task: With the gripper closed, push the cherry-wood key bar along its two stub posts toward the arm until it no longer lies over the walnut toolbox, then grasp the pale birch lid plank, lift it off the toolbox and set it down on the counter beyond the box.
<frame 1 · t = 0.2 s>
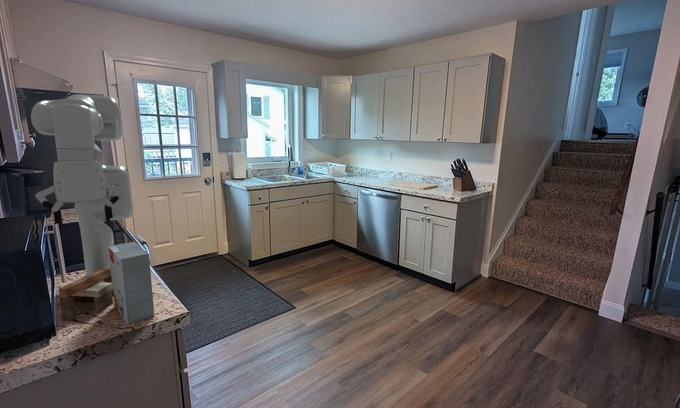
hand: (85, 223, 85), 31 cm above the worktop, tool pointing down, fingers open, 9 cm apart
key bar: (88, 280, 104), point 9 cm above the worktop, slide at 0.0 cm
lid: (89, 291, 104), point 5 cm above the worktop, touching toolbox
hard drive box: (134, 311, 103), on the worktop
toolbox: (91, 306, 105), on the worktop
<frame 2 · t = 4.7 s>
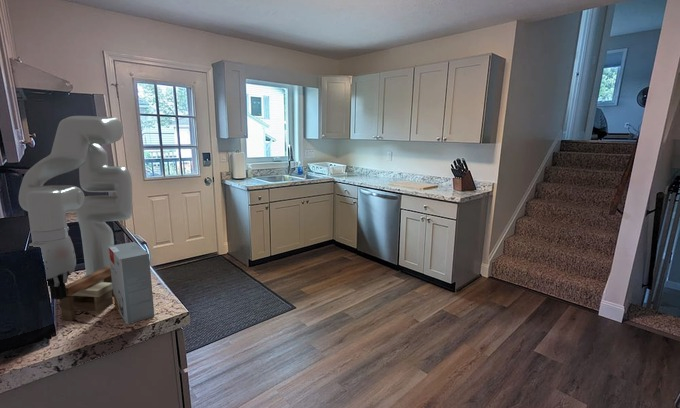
hand: (59, 297, 94), 8 cm above the worktop, tool pointing down, fingers closed
key bar: (90, 279, 104), point 9 cm above the worktop, slide at 0.7 cm, touching gripper
everything else where it was.
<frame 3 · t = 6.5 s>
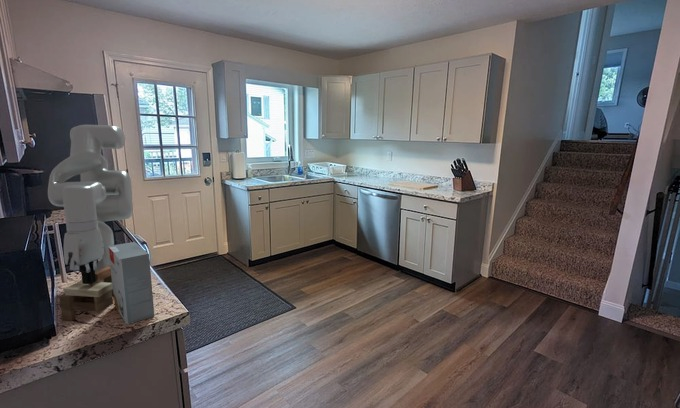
hand: (89, 282, 104), 8 cm above the worktop, tool pointing down, fingers closed
key bar: (115, 267, 114), point 9 cm above the worktop, slide at 11.1 cm, touching gripper
everything else where it was.
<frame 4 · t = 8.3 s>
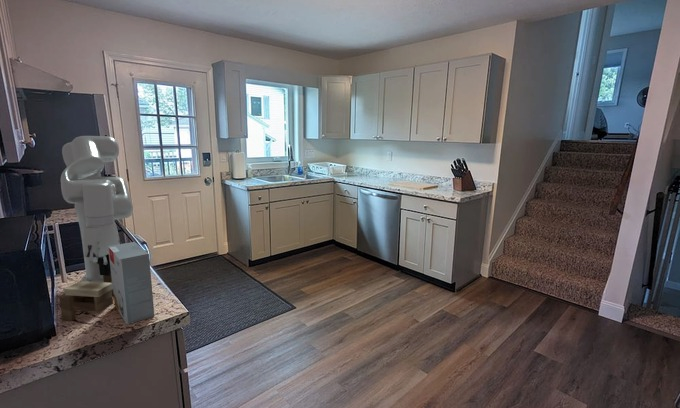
hand: (106, 274, 111), 8 cm above the worktop, tool pointing down, fingers closed
key bar: (129, 261, 121), point 9 cm above the worktop, slide at 17.9 cm, touching gripper
everything else where it was.
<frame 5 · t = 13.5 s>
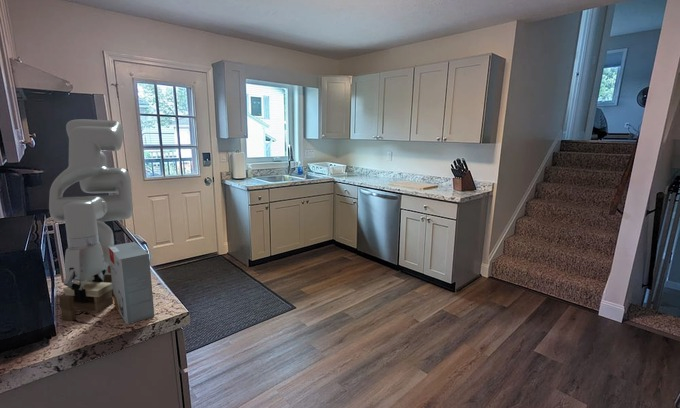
hand: (90, 296, 104), 4 cm above the worktop, tool pointing down, fingers closed on lid, 6 cm apart
key bar: (129, 261, 121), point 9 cm above the worktop, slide at 18.0 cm
lid: (89, 291, 104), point 5 cm above the worktop, touching gripper, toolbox
everything else where it was.
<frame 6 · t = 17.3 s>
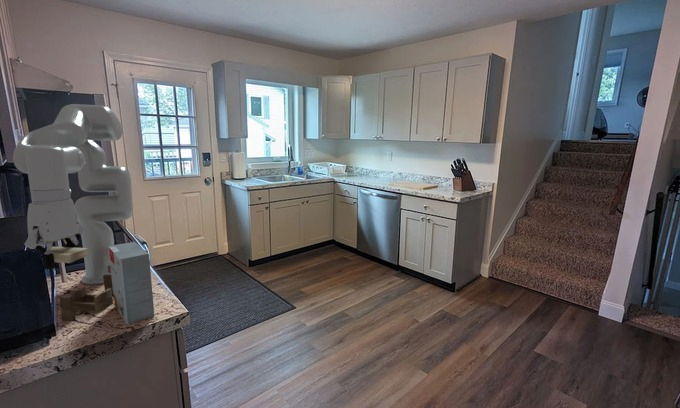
hand: (60, 263, 87), 20 cm above the worktop, tool pointing down, fingers closed on lid, 6 cm apart
lid: (59, 258, 87), point 21 cm above the worktop, touching gripper
everything else where it was.
when the fingers open (1 cm above the worktop, at t = 21.1 s): lid drops 3 cm, on the worktop.
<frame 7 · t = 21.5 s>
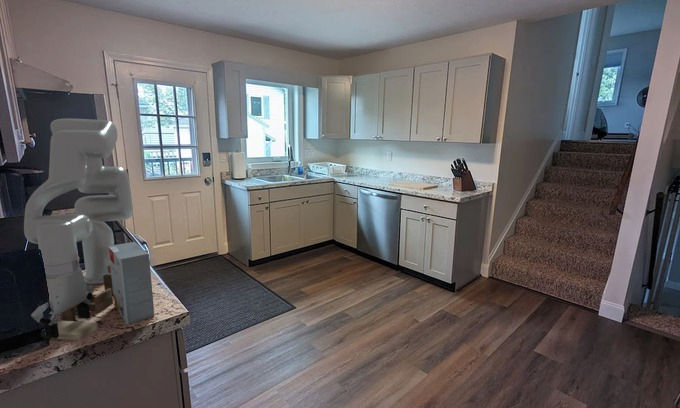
hand: (69, 327, 91), 2 cm above the worktop, tool pointing down, fingers open, 9 cm apart
lid: (70, 334, 91), on the worktop
everything else where it was.
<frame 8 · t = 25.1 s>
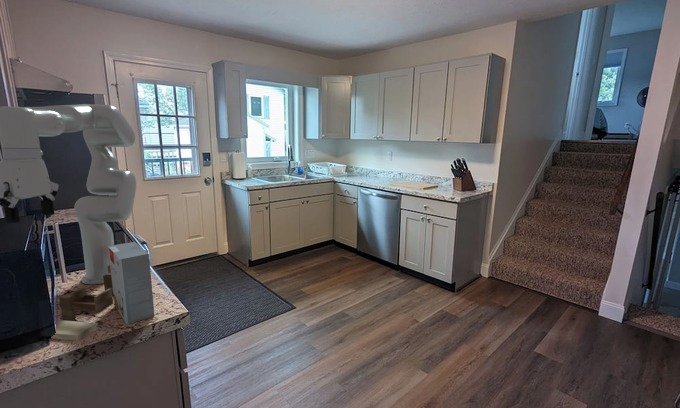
hand: (31, 218, 91), 30 cm above the worktop, tool pointing down, fingers open, 9 cm apart
nothing on the worktop moved.
at the end: key bar slide at 18.0 cm; lid inside the target area (0.0 cm from its centre), on the worktop; lid tilted 0° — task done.
